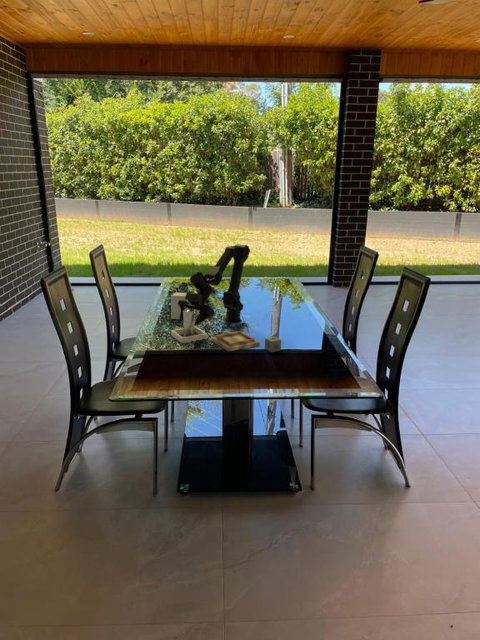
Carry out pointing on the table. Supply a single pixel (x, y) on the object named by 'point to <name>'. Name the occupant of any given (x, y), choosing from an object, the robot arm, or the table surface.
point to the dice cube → (273, 344)
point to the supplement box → (176, 304)
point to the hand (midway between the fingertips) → (187, 323)
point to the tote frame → (190, 338)
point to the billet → (188, 322)
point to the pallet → (235, 341)
